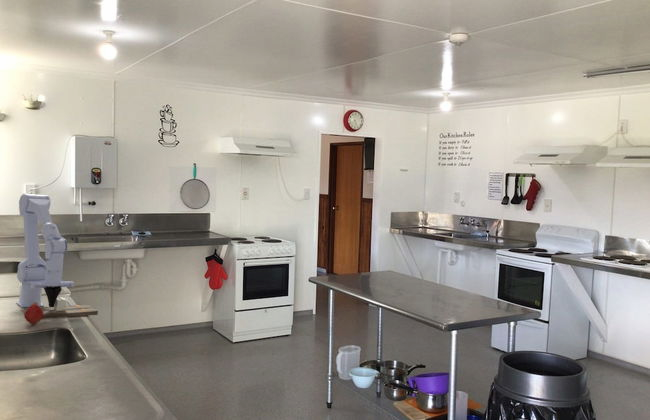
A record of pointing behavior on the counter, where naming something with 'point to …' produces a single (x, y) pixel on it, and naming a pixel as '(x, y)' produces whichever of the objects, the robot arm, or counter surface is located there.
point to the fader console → (69, 311)
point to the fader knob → (60, 304)
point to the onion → (33, 314)
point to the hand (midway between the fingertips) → (51, 306)
